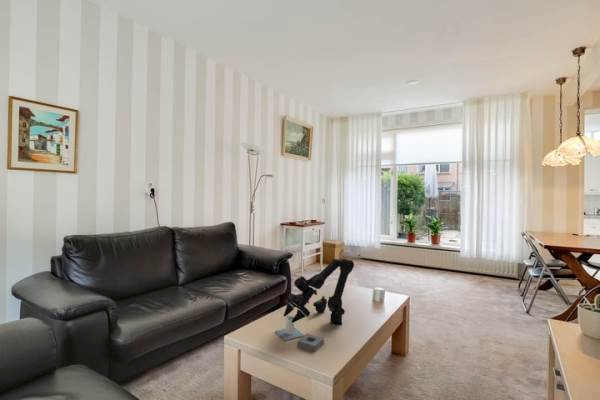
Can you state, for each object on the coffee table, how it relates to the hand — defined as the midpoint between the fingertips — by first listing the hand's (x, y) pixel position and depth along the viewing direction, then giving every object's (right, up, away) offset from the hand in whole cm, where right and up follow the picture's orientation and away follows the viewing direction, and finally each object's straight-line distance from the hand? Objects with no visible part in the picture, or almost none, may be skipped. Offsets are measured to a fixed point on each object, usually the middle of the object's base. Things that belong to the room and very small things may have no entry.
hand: (288, 319), depth 165 cm
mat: (+1, -9, +1) cm, 9 cm away
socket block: (+12, -9, -11) cm, 19 cm away
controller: (+20, -9, +33) cm, 39 cm away
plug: (+1, -8, +1) cm, 8 cm away
